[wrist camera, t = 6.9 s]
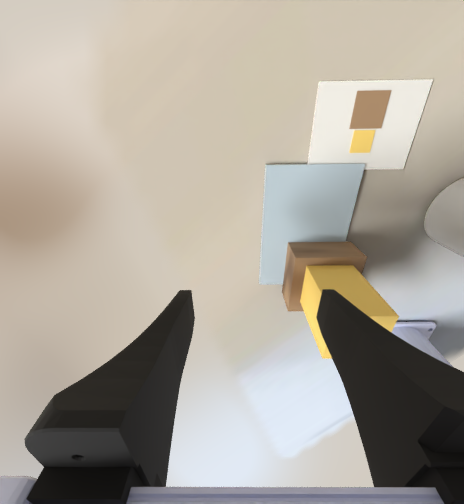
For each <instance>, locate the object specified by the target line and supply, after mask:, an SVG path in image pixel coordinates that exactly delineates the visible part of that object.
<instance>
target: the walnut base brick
mask: <svg viewBox="0 0 464 504" xmlns="http://www.w3.org/2000/svg"><path fill="white" fill-rule="evenodd" d="M366 259H367V257H366V256H365V255H364V254H363V253H362V252H361V251H360V250H359V249H358V248H357V247H356V246H355V245H354V244H353V243H352V242H288V246H287V254H286V263H285V271H284V280H283V288H282V293H283V296H284V300H285V303H286V306H287V309H288V311H304V310H303V308H302V305H301V303H300V299H301V294H302V288H303V282H304V277H305V271H306V266H324V265H353V266H354V267H355V268H356V269H357V270H358V271H359V272H360V274H361V275H362V272H363V269H364V266H365V262H366Z"/></svg>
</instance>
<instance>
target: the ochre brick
mask: <svg viewBox="0 0 464 504" xmlns="http://www.w3.org/2000/svg"><path fill="white" fill-rule="evenodd" d="M323 289H334V290H336V291H337V292H338V293H339V294H341V295H342V296H343V297H345V298H346V299H347V300H348V301H350V302H351V303H352V304H353V305H355V306H356V307H357V308H358V309H360V310H361V311H362V312H363V313H365V314H366V315H367V316H369V317H370V318H371V319H373V320H374V321H376V322H377V323H378V324H380V325H381V326H383V327H384V328H386V329H387V330H388V331H390V332H392V330H393V328H394V326H395V324H396V322H397V320H398V317H399V316H398V315H397V314H396V313H395V311H394V310H393V309H392V308H391V307H390V306H389V305H388V304H387V303H386V301H385V300H384V299H383V298H382V297H381V296H380V295H379V294H378V292H377V291H376V290H375V289H374V288H373V287H372V286H371V285H370V284H369V282H368V281H367V280H366V279H365V278H364V277H363V276H362V275H361V274H360V272H359V271H358V270H357V269H356V268H355V267H354V266H353V265H324V266H306V271H305V277H304V282H303V288H302V294H301V299H300V303H301V305H302V308H303V310H304V313H305V315H306V318H307V320H308V323H309V325H310V328H311V330H312V333H313V336H314V338H315V341H316V343H317V346H318V348H319V351H320V353H321V356H322V358H332V357H331V355H330V352H329V350H328V348H327V346H326V344H325V341H324V339H323V337H322V334H321V331H320V328H319V325H318V321H317V318H316V316H317V312H318V307H319V303H320V298H321V294H322V290H323Z"/></svg>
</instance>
